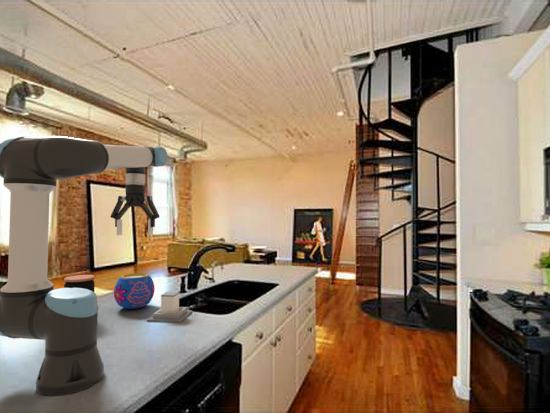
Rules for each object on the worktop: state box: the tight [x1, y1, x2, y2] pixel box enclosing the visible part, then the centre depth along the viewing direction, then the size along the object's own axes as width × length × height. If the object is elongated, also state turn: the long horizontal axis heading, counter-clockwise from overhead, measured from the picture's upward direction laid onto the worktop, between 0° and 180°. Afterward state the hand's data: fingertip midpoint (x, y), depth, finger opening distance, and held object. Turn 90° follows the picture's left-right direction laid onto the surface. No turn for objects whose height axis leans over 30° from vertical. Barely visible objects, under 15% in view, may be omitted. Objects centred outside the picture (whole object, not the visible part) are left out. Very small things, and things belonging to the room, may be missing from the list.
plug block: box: [160, 291, 180, 314], centre depth 140 cm, size 6×6×9 cm
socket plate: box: [146, 306, 193, 324], centre depth 140 cm, size 14×14×3 cm
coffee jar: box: [63, 274, 95, 293], centre depth 133 cm, size 11×11×18 cm
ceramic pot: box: [113, 272, 155, 310], centre depth 153 cm, size 18×18×15 cm
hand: (134, 235), depth 138 cm, fingers open, 13 cm apart
